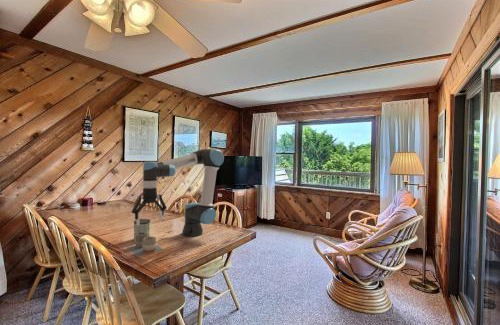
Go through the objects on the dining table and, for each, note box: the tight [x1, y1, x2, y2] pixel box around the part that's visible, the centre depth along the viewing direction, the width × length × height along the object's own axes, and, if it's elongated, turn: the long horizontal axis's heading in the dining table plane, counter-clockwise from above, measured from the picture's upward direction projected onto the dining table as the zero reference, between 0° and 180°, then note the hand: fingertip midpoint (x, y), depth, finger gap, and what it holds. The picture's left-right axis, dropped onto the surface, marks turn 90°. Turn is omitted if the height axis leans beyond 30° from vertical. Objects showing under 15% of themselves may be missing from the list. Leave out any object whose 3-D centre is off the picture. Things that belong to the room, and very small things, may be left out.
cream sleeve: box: [143, 235, 157, 255], centre depth 154 cm, size 7×7×8 cm
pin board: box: [126, 244, 165, 257], centre depth 158 cm, size 16×18×7 cm
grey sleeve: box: [134, 232, 147, 248], centre depth 163 cm, size 7×7×8 cm
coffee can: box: [133, 218, 151, 243], centre depth 175 cm, size 10×10×14 cm
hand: (149, 222), depth 154 cm, fingers open, 13 cm apart
